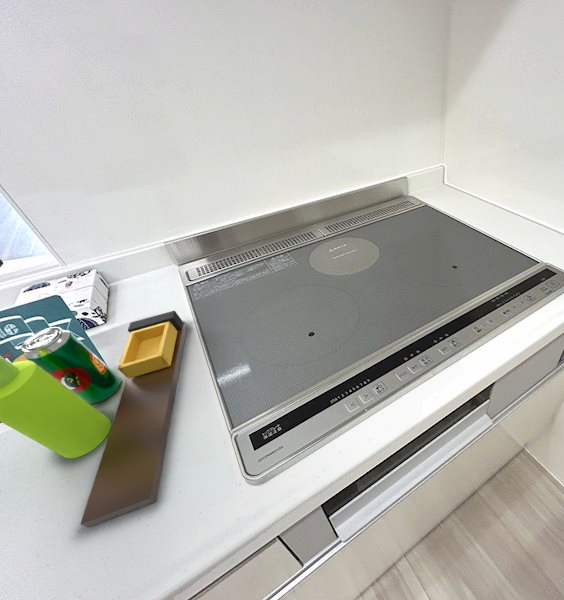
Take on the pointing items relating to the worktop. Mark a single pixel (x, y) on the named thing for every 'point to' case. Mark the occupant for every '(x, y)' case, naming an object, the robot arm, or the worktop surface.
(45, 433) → the soap dispenser
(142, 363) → the tray
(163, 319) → the end stop
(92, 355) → the soda can
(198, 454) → the worktop surface
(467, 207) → the worktop surface
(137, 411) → the board
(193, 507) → the worktop surface
